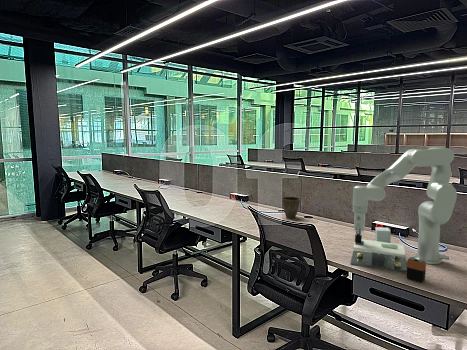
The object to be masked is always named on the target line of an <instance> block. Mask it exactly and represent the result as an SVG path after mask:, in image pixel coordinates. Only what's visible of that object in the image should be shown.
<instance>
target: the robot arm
mask: <svg viewBox="0 0 467 350" xmlns="http://www.w3.org/2000/svg"><path fill="white" fill-rule="evenodd" d="M454 159H455V153H454V152H453V150H452V149H450V148H447V147H437V146H431V147H428V148H426V149H424V148H422V149H420V148H411V149H408V150H406V151H404V153H403V154H402V155H401V156H400V157H399V158H397V160H396V161H395V162H394V163H392V164H391V166H390V167H388V168H387V169H386V170H384V171H383V172H381V173H379V174H378V175H377V176H375V177H374V178H373V179H372V180H371V181H370V182H369V183H368V184H367V185H366V186H365V185H354V186H353V189H352V210H351V211H352V212H353V214H354V215H353V216H354V220H353V229H354V231H355V233H354V234H355V236H354V243H355V242H358V243H361V240H362V237H363V235H362V232H365V228H366V227H365V226H366V214H367V213H368V208H369V207H368V205H369V201H372V202H373V201H374V202H380V201H383V200H384V199H385V198H386V196H387V195H386V193H387V192H386V190H385V189H384V188H385V187H387V186H388V185H390V184H392V183H395V182H399V181H401V180H403V179H404V178H405V177H406V176H408V174H409V173H410V172H411V171H413V170H414V168H415V167H423V168H424V167H431V174H430V178H429V180H428V181H429V182H428V184H427V187H426V196H427V197H428V198H429V199H432V200H433V201H430V200H428V201H427V200H425V201H423V202H422V203H420V205H419V206H418V209H417V213H418V240H417V241H418V242H417V254H414V255H413V257H414V258H415V259H418V260H419V259H421V260H423V261H426V265H427V264H428V265H440V264H441V263H442V260H446V261H447V260H448V261H449V260H450V256H449V255H446V254H441V253H440V252H439V251H440V236H441V235H440V234H441V225H444V224H447V222H448V221H450V219H451V217H452V215H453V210H454V208H455V205H456V202H457V197H458V194H457V193H458V192H457V189H456V187H454V186H453V185H451V184H450V181H451V176H452V167H451V163H452V162H453V161H454Z"/></svg>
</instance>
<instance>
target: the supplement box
mask: <svg viewBox="0 0 467 350" xmlns="http://www.w3.org/2000/svg"><path fill="white" fill-rule="evenodd" d="M374 229H375V231H374V232H375V234H374V237H375V238H374V241H378V242H385V243H391V239H392V238H391V237H392V236H391V234H392V233H391V229H390V227H380V226H377V227H376V226H375V228H374Z"/></svg>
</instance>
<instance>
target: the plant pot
mask: <svg viewBox="0 0 467 350" xmlns="http://www.w3.org/2000/svg"><path fill="white" fill-rule="evenodd" d="M281 202H282V207H283V211H284V215H285V217H286V218H287V217H288V219H296V217H297V214H298V212H299V211H298V210H299V208H300V203H301V197H298V196H297V197H295V196H283V197H282V198H281Z"/></svg>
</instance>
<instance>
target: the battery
mask: <svg viewBox="0 0 467 350" xmlns="http://www.w3.org/2000/svg"><path fill="white" fill-rule="evenodd" d="M406 267H407V272H406V276H405V278H406V280H412V281H413V282H414V281H415V282H418V283H423V282H424V281H425V280H426V272H427V271H426V268H427V263H426V261H423V260H421V259H419V260H418V259H415V258H414V256H413V257H412V256H410V257H409V258H408V259H407V260H406Z"/></svg>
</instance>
